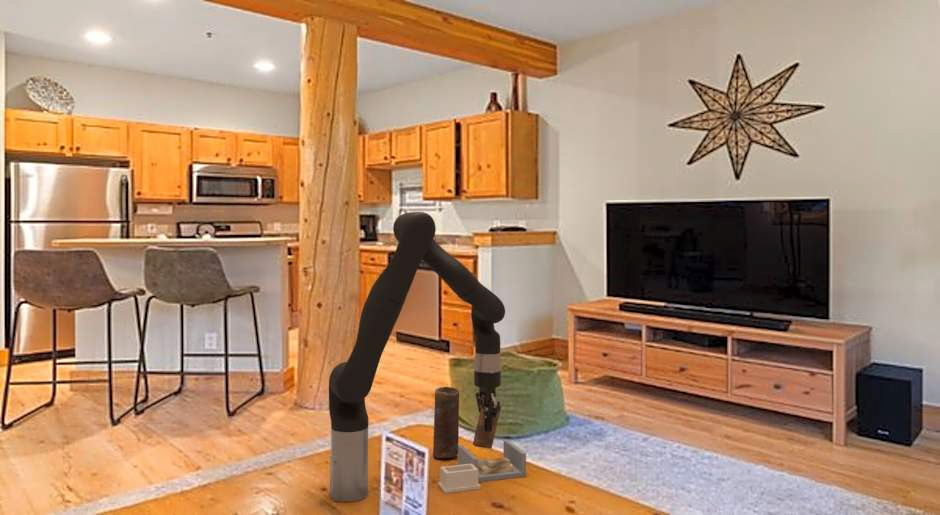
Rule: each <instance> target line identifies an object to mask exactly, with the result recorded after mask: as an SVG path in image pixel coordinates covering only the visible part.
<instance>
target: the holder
mask: <svg viewBox="0 0 940 515" xmlns="http://www.w3.org/2000/svg"><path fill="white" fill-rule="evenodd" d="M439 469H440V470H439V472H440V474H439V476H440V478H439V481H438V482H437V486H438V487H439V488H440V490H441V491H442V492H443V493H444V494H450V493H451V494H452V493H457V492H458V493H459V492H465V491H466V492H467V491H474V490H481V488H482V486H481V484H480V482H478V469H477V468H476V467H475V466H474V465H473V464H472V463H471V464H463V465H458V464H457V465H448V466H447V465H446V466H440V467H439Z"/></svg>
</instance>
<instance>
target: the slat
mask: <svg viewBox="0 0 940 515" xmlns="http://www.w3.org/2000/svg"><path fill="white" fill-rule="evenodd" d="M486 407H489V406H486ZM501 409H502V406H501V405H499V408H498V411H497V415H496V417H493V418H492V431H491V432H485V418H484V410H483V409H482V408H481V411H480V413H479V416H478V420H477V424H476V429H475V433H474V436H473V437H474V438H473V441H472V445H473V446H474V447H477V448H483V449H488V450H489V449H491V450H492V448H493V444H494V440H495V435H496V430H497V427H498V423H499V419H500V414H501V411H502V410H501Z"/></svg>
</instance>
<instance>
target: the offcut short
mask: <svg viewBox="0 0 940 515" xmlns="http://www.w3.org/2000/svg"><path fill="white" fill-rule="evenodd" d="M485 460H486V466H487V467H488V468H490V469H491V468H498V467H505V466H510V460H509V459H507V458H506V457H497V458H496V457H495V458H489V460H487V459H485Z"/></svg>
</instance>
